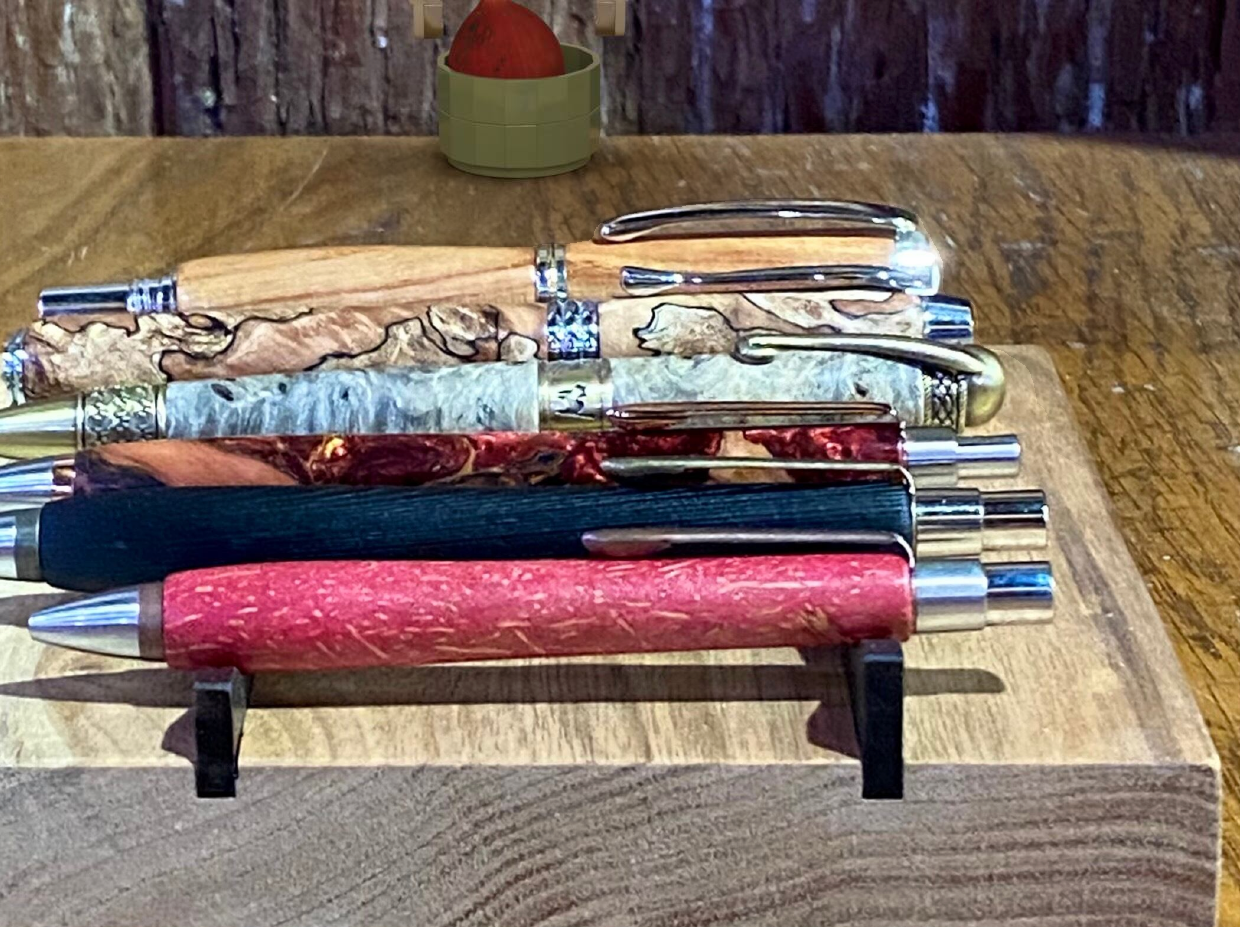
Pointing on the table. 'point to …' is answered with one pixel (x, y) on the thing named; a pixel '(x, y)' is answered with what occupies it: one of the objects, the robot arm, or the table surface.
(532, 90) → the bowl
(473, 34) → the onion
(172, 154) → the table surface
